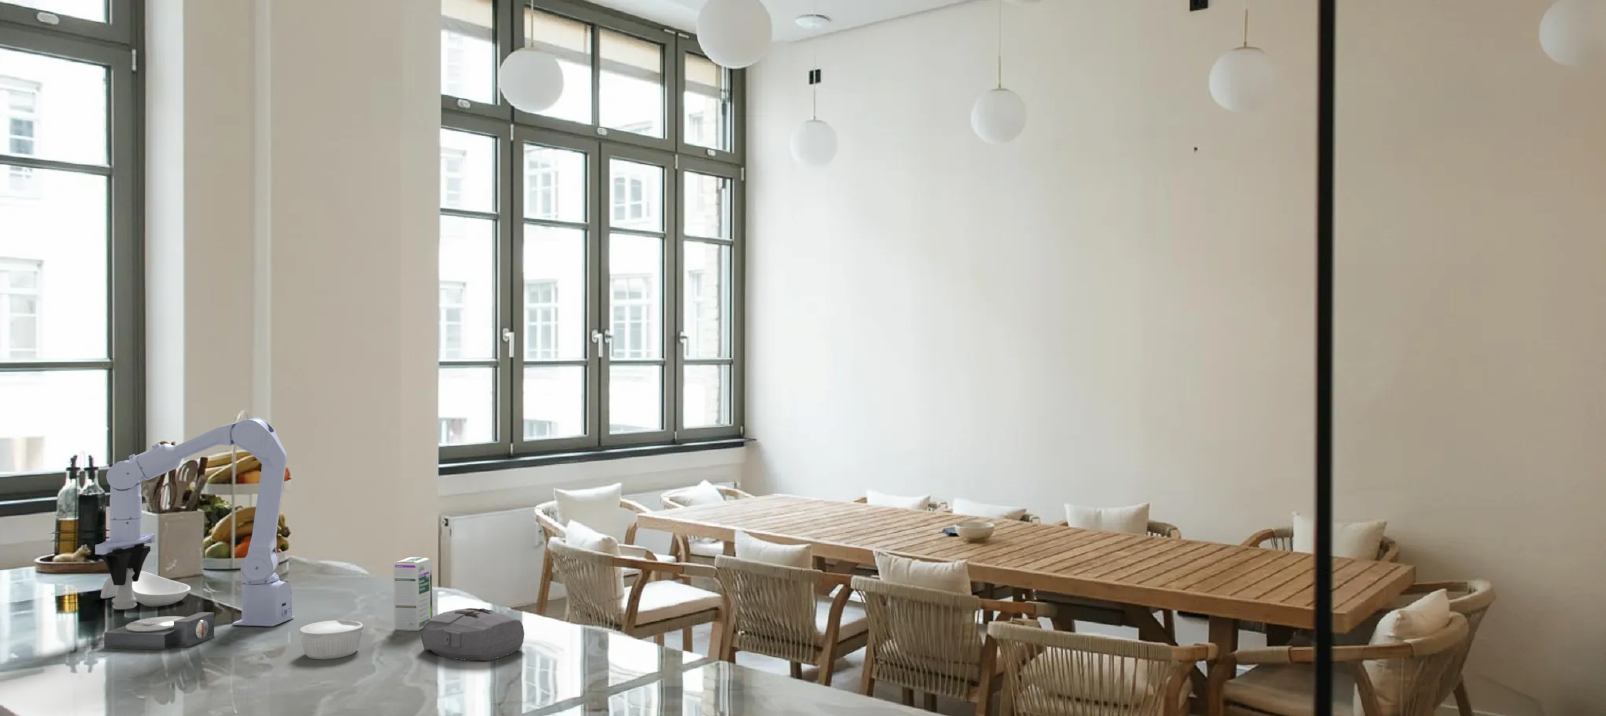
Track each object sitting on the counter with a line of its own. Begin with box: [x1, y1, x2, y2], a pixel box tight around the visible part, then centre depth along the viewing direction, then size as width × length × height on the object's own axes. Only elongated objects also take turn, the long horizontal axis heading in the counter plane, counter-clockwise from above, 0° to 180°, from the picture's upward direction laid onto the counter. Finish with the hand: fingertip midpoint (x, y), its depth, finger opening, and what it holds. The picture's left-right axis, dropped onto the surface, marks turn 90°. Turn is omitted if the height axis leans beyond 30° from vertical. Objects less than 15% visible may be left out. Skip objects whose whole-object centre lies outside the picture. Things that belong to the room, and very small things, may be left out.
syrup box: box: [393, 556, 433, 632], centre depth 233 cm, size 6×6×14 cm
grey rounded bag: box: [420, 607, 525, 661], centre depth 215 cm, size 15×8×20 cm
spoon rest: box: [100, 570, 191, 607], centre depth 257 cm, size 24×12×7 cm, turn 68°
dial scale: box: [103, 611, 215, 651], centre depth 222 cm, size 16×13×5 cm
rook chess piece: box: [111, 568, 138, 610], centre depth 229 cm, size 4×4×8 cm
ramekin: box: [299, 619, 364, 660], centre depth 213 cm, size 11×11×5 cm
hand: (126, 583), depth 229 cm, fingers closed on rook chess piece, 3 cm apart
